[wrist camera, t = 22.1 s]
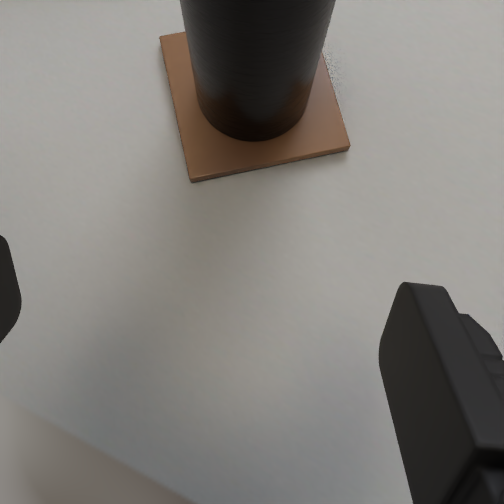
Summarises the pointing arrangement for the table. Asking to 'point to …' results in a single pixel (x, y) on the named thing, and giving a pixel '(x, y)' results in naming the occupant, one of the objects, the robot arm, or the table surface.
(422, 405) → the robot arm
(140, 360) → the table surface
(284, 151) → the coaster
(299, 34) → the tin
